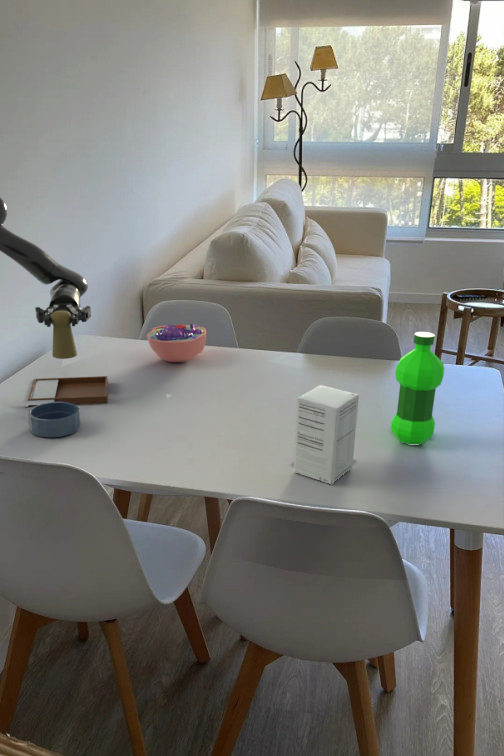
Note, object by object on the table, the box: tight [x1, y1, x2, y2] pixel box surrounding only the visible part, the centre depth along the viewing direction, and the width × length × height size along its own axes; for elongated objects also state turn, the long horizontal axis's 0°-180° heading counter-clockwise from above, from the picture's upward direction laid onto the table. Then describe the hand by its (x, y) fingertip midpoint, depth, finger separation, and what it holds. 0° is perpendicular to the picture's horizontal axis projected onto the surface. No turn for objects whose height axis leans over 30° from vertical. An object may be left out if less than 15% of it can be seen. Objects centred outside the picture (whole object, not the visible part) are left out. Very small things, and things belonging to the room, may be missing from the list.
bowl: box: [27, 401, 82, 438], centre depth 162 cm, size 11×11×4 cm
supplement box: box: [293, 384, 360, 485], centre depth 143 cm, size 10×9×17 cm
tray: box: [27, 375, 109, 408], centre depth 183 cm, size 19×15×2 cm
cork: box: [50, 311, 78, 360], centre depth 174 cm, size 6×6×11 cm
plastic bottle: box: [390, 331, 445, 445], centre depth 156 cm, size 10×10×25 cm
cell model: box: [146, 323, 207, 363], centre depth 208 cm, size 17×20×11 cm
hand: (60, 322), depth 170 cm, fingers closed on cork, 5 cm apart
